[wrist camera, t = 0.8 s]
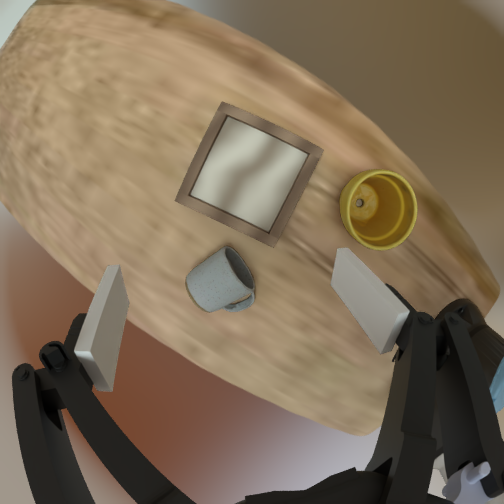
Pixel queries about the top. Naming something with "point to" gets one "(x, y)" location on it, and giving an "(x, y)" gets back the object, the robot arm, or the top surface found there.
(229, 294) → the ceramic mug
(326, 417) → the top surface
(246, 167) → the coaster tray
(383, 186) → the plant pot
